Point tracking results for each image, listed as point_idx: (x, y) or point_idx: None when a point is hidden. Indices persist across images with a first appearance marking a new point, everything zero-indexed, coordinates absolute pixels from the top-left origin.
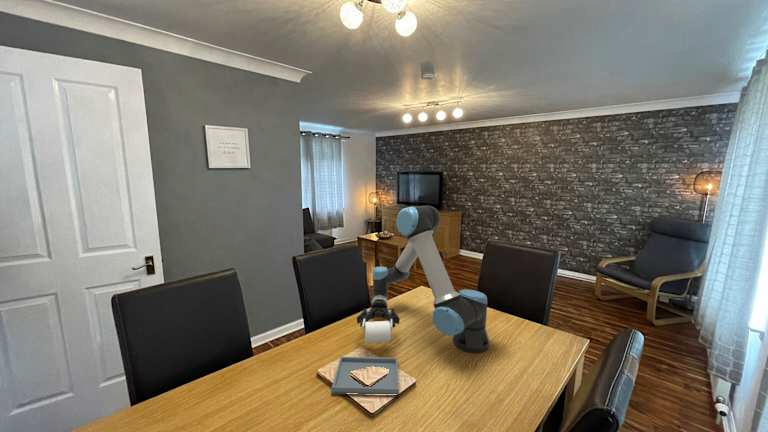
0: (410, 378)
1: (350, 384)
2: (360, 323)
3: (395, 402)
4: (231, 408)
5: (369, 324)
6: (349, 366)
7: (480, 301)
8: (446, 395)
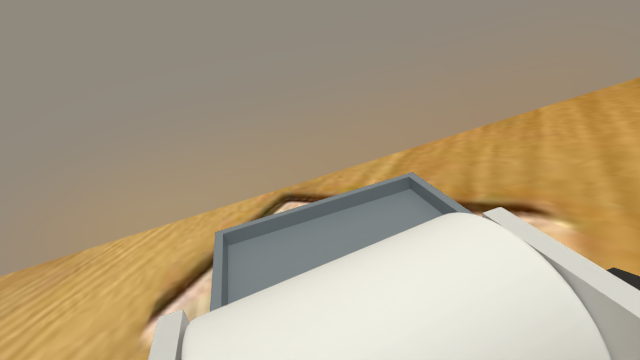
0: None
1: (379, 212)
2: (621, 273)
3: None
4: (576, 115)
5: (436, 228)
6: None
7: None
8: (57, 310)
